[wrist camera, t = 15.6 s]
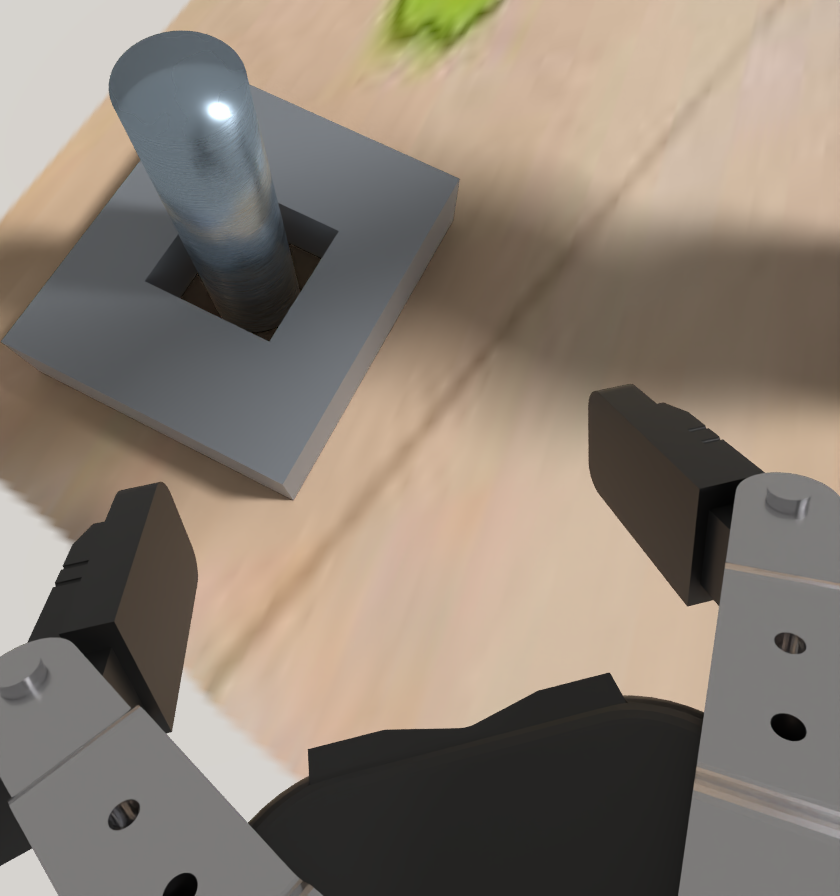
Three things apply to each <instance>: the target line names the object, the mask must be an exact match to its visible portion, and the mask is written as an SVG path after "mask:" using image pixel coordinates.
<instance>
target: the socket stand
mask: <svg viewBox="0 0 840 896" xmlns="http://www.w3.org/2000/svg"><path fill="white" fill-rule="evenodd" d="M249 86H250V90H251V94H252V98H253V102H254V106H255V110H256V114H257V118H258V122H259V127H260V131H261V135H262V139H263V143H264V147H265V151H266V155H267V159H268V163H269V167H270V171H271V175H272V179H273V184H274V188H275V192H276V196H277V200H278V204H279V208H280V212H281V216H282V220H283V224H284V228H285V232H286V236H287V241H288V243H290V244H292V245H294V246H297V247H299V248H301V249H303V250H305V251H307V252H309V253H311V254H314V255H316V256H318V257H320V258H322V259H321V260H320V262H319V264H318V265H317V267H316V268H315V270H314V271H313V273H312V275H311V276H310V278H309V279H308V281H307V283H306V284H305V286H304V287H303V289H302V291H301V292H300V294H299V295H298V297H297V298H296V300H295V302H294V303H293V305H292V306H291V308H290V310H289V311H288V313H287V314H286V316H285V318H284V319H283V321H282V322H281V324H280V325H279V327H278V329H277V330H276V332H275V333H274V335H273V337H272V338H271V340H270V341H267V340H265V339H263V338H261V337H259V336H257V335H254V334H252V333H250V332H248V331H246V330H244V329H242V328H240V327H238V326H236V325H234V324H232V323H230V322H228V321H226V320H224V319H222V318H219V317H217V316H215V315H213V314H211V313H209V312H207V311H205V310H203V309H201V308H199V307H197V306H195V305H193V304H191V303H189V302H187V301H185V300H182V299H180V297H181V296H182V294H183V293H184V291H185V290H186V289H187V287H188V286H189V284H190V283H191V281H192V280H193V278H194V277H195V276H196V274H197V273H198V272H197V270H196V268H195V266H194V264H193V262H192V260H191V258H190V256H189V254H188V252H187V250H186V248H185V246H184V244H183V242H182V240H181V238H180V236H179V234H178V232H177V231H176V229H175V227H174V225H173V223H172V221H171V219H170V217H169V215H168V213H167V211H166V209H165V207H164V205H163V203H162V201H161V199H160V197H159V195H158V193H157V191H156V189H155V187H154V185H153V183H152V181H151V179H150V178H149V176H148V174H147V172H146V170H145V168H144V166H143V164H142V162H141V160H140V162H139V163H138V164H137V165H136V167H135V168H134V169H133V171H132V172H131V173H130V175H129V176H128V177H127V178H126V180H125V181H124V182H123V184H122V185H121V186H120V188H119V189H118V190H117V191H116V193H115V194H114V195H113V197H112V198H111V199H110V201H109V202H108V203H107V204H106V206H105V207H104V208H103V210H102V211H101V212H100V214H99V215H98V216H97V217H96V219H95V220H94V221H93V223H92V224H91V225H90V227H89V228H88V229H87V230H86V232H85V233H84V234H83V236H82V237H81V238H80V240H79V241H78V242H77V243H76V245H75V246H74V247H73V249H72V250H71V251H70V252H69V254H68V255H67V256H66V258H65V259H64V260H63V262H62V263H61V264H60V265H59V267H58V268H57V269H56V271H55V272H54V273H53V275H52V276H51V277H50V278H49V280H48V281H47V282H46V284H45V285H44V286H43V288H42V289H41V290H40V291H39V293H38V294H37V295H36V297H35V298H34V299H33V301H32V302H31V303H30V304H29V306H28V307H27V308H26V310H25V311H24V312H23V314H22V315H21V316H20V317H19V319H18V320H17V321H16V323H15V324H14V325H13V327H12V328H11V329H10V330H9V332H8V333H7V334H6V336H5V337H4V338H3V339H2V341H1V342H2V343H3V344H4V345H6V346H7V347H8V348H10V349H11V350H12V351H14V352H15V353H16V354H18V355H19V356H20V357H21V358H23V359H24V360H25V361H27V362H28V363H29V364H31V365H32V366H33V367H35V368H36V369H37V370H39V371H40V372H42V373H44V374H46V375H48V376H50V377H52V378H54V379H56V380H58V381H60V382H62V383H64V384H66V385H68V386H70V387H72V388H74V389H76V390H78V391H79V392H81V393H83V394H85V395H87V396H89V397H91V398H93V399H95V400H97V401H99V402H101V403H103V404H105V405H107V406H109V407H111V408H113V409H115V410H117V411H119V412H121V413H123V414H125V415H127V416H129V417H131V418H133V419H135V420H137V421H138V422H140V423H142V424H144V425H146V426H148V427H150V428H152V429H154V430H156V431H158V432H160V433H162V434H164V435H166V436H168V437H170V438H172V439H174V440H176V441H178V442H180V443H182V444H184V445H186V446H188V447H190V448H192V449H194V450H196V451H197V452H199V453H201V454H203V455H205V456H207V457H209V458H211V459H213V460H215V461H217V462H219V463H221V464H223V465H225V466H227V467H229V468H231V469H233V470H235V471H237V472H239V473H241V474H243V475H245V476H247V477H249V478H251V479H253V480H255V481H256V482H258V483H260V484H262V485H264V486H266V487H268V488H270V489H272V490H274V491H276V492H278V493H280V494H282V495H284V496H286V497H288V498H290V499H292V500H294V499H295V497H296V495H297V494H298V492H299V490H300V488H301V486H302V485H303V483H304V481H305V479H306V478H307V476H308V474H309V472H310V471H311V469H312V467H313V465H314V464H315V462H316V460H317V458H318V457H319V455H320V453H321V451H322V450H323V448H324V446H325V444H326V443H327V441H328V439H329V437H330V436H331V434H332V432H333V430H334V429H335V427H336V425H337V423H338V422H339V420H340V418H341V416H342V415H343V413H344V411H345V409H346V407H347V406H348V404H349V402H350V400H351V399H352V397H353V395H354V393H355V392H356V390H357V388H358V386H359V385H360V383H361V381H362V379H363V378H364V376H365V374H366V372H367V371H368V369H369V367H370V365H371V364H372V362H373V360H374V358H375V357H376V355H377V353H378V351H379V350H380V348H381V346H382V344H383V343H384V341H385V339H386V337H387V335H388V334H389V332H390V330H391V328H392V327H393V325H394V323H395V321H396V320H397V318H398V316H399V314H400V313H401V311H402V309H403V307H404V306H405V304H406V302H407V300H408V299H409V297H410V295H411V293H412V292H413V290H414V288H415V286H416V285H417V283H418V281H419V279H420V278H421V276H422V274H423V272H424V271H425V269H426V267H427V265H428V263H429V262H430V260H431V258H432V256H433V255H434V253H435V251H436V249H437V248H438V246H439V244H440V242H441V241H442V239H443V237H444V235H445V234H446V232H447V230H448V228H449V227H450V225H451V223H452V221H453V219H454V212H455V206H456V200H457V193H458V187H459V180H460V179H459V178H457V177H454V176H452V175H450V174H448V173H445V172H443V171H441V170H439V169H437V168H434V167H432V166H430V165H428V164H425V163H423V162H421V161H419V160H417V159H414V158H412V157H410V156H408V155H405V154H403V153H401V152H399V151H396V150H394V149H392V148H390V147H388V146H385V145H383V144H381V143H379V142H376V141H374V140H372V139H370V138H367V137H365V136H363V135H361V134H359V133H356V132H354V131H352V130H350V129H347V128H345V127H343V126H341V125H339V124H336V123H334V122H332V121H330V120H327V119H325V118H323V117H321V116H318V115H316V114H314V113H312V112H310V111H307V110H305V109H303V108H301V107H298V106H296V105H294V104H292V103H289V102H287V101H285V100H283V99H281V98H278V97H276V96H274V95H272V94H269V93H267V92H265V91H263V90H261V89H258V88H256V87H254V86H252V85H249Z"/></svg>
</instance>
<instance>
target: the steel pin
mask: <svg viewBox="0 0 840 896" xmlns="http://www.w3.org/2000/svg"><path fill="white" fill-rule="evenodd" d="M109 95H110V99H111V102H112V105H113V107H114V109H115V111H116V113H117V115H118V117H119V119H120V121H121V123H122V125H123V126H124V128H125V130H126V132H127V134H128V136H129V138H130V140H131V142H132V144H133V146H134V148H135V150H136V152H137V154H138V156H139V158H140V160H141V162H142V164H143V166H144V168H145V170H146V172H147V174H148V176H149V178H150V179H151V181H152V183H153V185H154V187H155V189H156V191H157V193H158V195H159V197H160V199H161V201H162V203H163V205H164V207H165V209H166V211H167V213H168V215H169V217H170V219H171V221H172V223H173V225H174V227H175V229H176V231H177V232H178V234H179V236H180V238H181V240H182V242H183V244H184V246H185V248H186V250H187V252H188V254H189V256H190V258H191V260H192V262H193V264H194V266H195V268H196V270H197V272H198V274H199V276H200V278H201V280H202V282H203V284H204V285H205V287H206V289H207V291H208V293H209V295H210V297H211V299H212V301H213V303H214V305H215V307H216V309H217V311H218V313H219V314H220V316H221V317H222V318H223V319H224V320H226V321H228V322H230V323H232V324H234V325H236V326H238V327H240V328H242V329H244V330H246V331H249V332H261V331H266V330H270V329H273V328H275V327H277V326H279V325H280V324H281V322H282V321H283V319H284V318H285V316H286V314H287V313H288V311H289V310H290V308H291V306H292V305H293V303H294V302H295V300H296V298H297V297H298V295H299V285H298V281H297V277H296V273H295V269H294V265H293V261H292V257H291V253H290V249H289V245H288V241H287V236H286V232H285V228H284V224H283V220H282V216H281V212H280V208H279V204H278V200H277V196H276V192H275V188H274V184H273V179H272V175H271V171H270V167H269V163H268V159H267V155H266V151H265V147H264V143H263V139H262V135H261V131H260V127H259V122H258V118H257V114H256V110H255V106H254V102H253V98H252V94H251V90H250V86H249V82H248V78H247V74H246V70H245V67H244V64H243V62H242V60H241V59H240V57H239V56H238V55H237V53H236V52H235V51H234V50H233V49H232V48H231V47H230V46H228V45H227V44H226V43H224V42H223V41H221V40H219V39H217V38H215V37H212V36H210V35H207V34H203V33H199V32H193V31H170V32H164V33H160V34H156V35H153V36H150V37H148V38H145V39H143V40H141V41H140V42H138V43H136V44H135V45H133V46H132V47H131V48H129V49H128V50H127V51H126V52H125V53H124V54H123V55H122V56H121V57H120V58H119V60H118V61H117V63H116V64H115V66H114V68H113V70H112V73H111V75H110V80H109Z"/></svg>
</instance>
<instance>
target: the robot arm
mask: <svg viewBox="0 0 840 896" xmlns="http://www.w3.org/2000/svg"><path fill="white" fill-rule="evenodd" d="M588 430H589V469H590V474H591V478H592V481H593V484H594V486H595V488H596V490H597V492H598V493H599V495H600V496H601V497H602V498H603V500H604V501H605V502H606V504H607V505H608V506H609V507H610V509H611V510H612V511H613V512H614V514H615V515H616V516H617V518H618V519H619V520H620V521H621V523H622V524H623V525H624V526H625V528H626V529H627V530H628V532H629V533H630V534H631V535H632V537H633V538H634V539H635V540H636V542H637V543H638V544H639V546H640V547H641V548H642V549H643V551H644V552H645V553H646V554H647V556H648V557H649V558H650V560H651V561H652V562H653V563H654V565H655V566H656V567H657V568H658V570H659V571H660V572H661V574H662V575H663V576H664V577H665V579H666V580H667V581H668V582H669V584H670V585H671V586H672V588H673V589H674V590H675V591H676V593H677V594H678V595H679V596H680V598H681V599H682V600H683V601H684V603H685V604H686V605H687V606H691V605H695V604H699V603H703V602H707V601H711V600H714V601H715V602H716V603H717V604H718V606H719V612H718V619H717V626H716V633H715V640H714V647H713V654H712V661H711V669H710V676H709V683H708V690H707V697H706V704H705V711H704V712H702V711H699V710H697V709H694V708H692V707H689V706H686V705H682V704H679V703H675V702H672V701H668V700H663V699H657V698H652V697H643V696H623V695H622V693H621V692H620V690H619V688H618V686H617V685H616V683H615V681H614V679H613V677H612V676H611V674H610V673H606V674H602V675H598V676H594V677H590V678H586V679H582V680H578V681H574V682H571V683H567V684H563V685H559V686H555V687H551V688H547V689H543V690H539V691H537V692H535V693H533V694H531V695H529V696H527V697H525V698H523V699H522V700H520V701H518V702H516V703H514V704H512V705H510V706H508V707H507V708H505V709H503V710H501V711H499V712H497V713H495V714H493V715H491V716H490V717H488V718H486V719H484V720H482V721H480V722H478V723H476V724H474V725H472V726H469V727H466V728H451V729H401V730H382V731H378V732H374V733H370V734H366V735H362V736H358V737H355V738H351V739H347V740H343V741H339V742H335V743H331V744H327V745H323V746H319V747H315V748H311V749H308V761H309V776H308V777H306V778H304V779H302V780H301V781H299V782H297V783H295V784H294V785H292V786H291V787H289V788H288V789H287V790H285V791H283V792H282V793H280V794H279V795H278V796H277V797H275V798H274V799H273V800H272V801H271V802H270V803H268V804H267V805H266V806H265V807H264V808H262V809H261V810H260V811H259V813H257V815H255V817H253V818H252V819H251V820H250V821H249V822H248V823H247V822H246V820H245V819H244V818H243V817H242V816H241V815H240V814H239V813H238V812H237V811H236V810H235V808H234V807H233V806H232V805H231V804H230V803H229V802H228V801H227V800H226V799H225V798H224V796H222V794H221V793H220V792H219V791H218V790H217V789H216V788H215V787H214V786H213V785H212V783H211V782H210V781H209V780H208V779H207V778H206V777H205V776H204V775H203V774H202V773H201V772H200V770H199V769H198V768H197V767H196V766H195V765H194V764H193V763H192V762H191V761H190V759H189V758H188V757H187V756H186V755H185V754H184V753H183V752H182V751H181V749H180V748H179V747H178V746H177V745H176V744H175V743H174V742H173V741H172V740H171V739H170V737H169V736H168V735H167V734H166V733H169V732H172V728H173V722H174V717H175V711H176V705H177V699H178V693H179V688H180V682H181V676H182V670H183V664H184V658H185V653H186V647H187V641H188V635H189V629H190V624H191V618H192V612H193V606H194V600H195V594H196V589H197V582H198V570H197V563H196V558H195V554H194V551H193V548H192V545H191V543H190V540H189V538H188V535H187V533H186V530H185V528H184V525H183V523H182V520H181V518H180V516H179V513H178V511H177V508H176V506H175V503H174V501H173V498H172V496H171V493H170V491H169V489H168V487H167V486H166V485H165V484H164V483H163V482H158V483H153V484H149V485H144V486H139V487H134V488H130V489H125V490H120V491H118V492H117V494H116V496H115V498H114V501H113V503H112V505H111V508H110V510H109V513H108V515H107V518H106V520H105V522H101V523H96V524H93V525H92V526H91V527H90V528H89V529H88V530H87V531H86V532H85V533H84V534H83V535H82V536H81V537H80V538H79V539H78V540H77V541H76V542H75V543H74V544H73V545H72V547H71V549H70V551H69V554H68V556H67V558H66V560H65V562H64V565H63V567H64V569H63V570H61V571H60V573H59V575H58V577H57V580H56V582H55V585H56V587H53V588H52V591H51V593H50V595H49V597H48V599H47V601H46V604H45V606H44V608H43V610H42V612H41V614H40V617H39V619H38V621H37V623H36V625H35V627H34V630H33V632H32V634H31V636H30V638H29V641H28V643H26V644H23V645H21V646H19V647H17V648H14V649H13V650H11V651H9V652H7V653H6V654H4V655H2V656H1V657H0V866H1V865H3V864H4V863H6V862H8V861H10V860H12V859H14V858H15V857H17V856H19V855H21V854H23V853H25V852H26V851H28V850H30V849H32V848H33V850H34V852H35V854H36V856H37V857H38V859H39V861H40V863H41V865H42V866H43V868H44V870H45V872H46V874H47V875H48V877H49V879H50V881H51V883H52V884H53V886H54V888H55V890H56V892H57V894H58V895H59V896H840V496H839V495H838V494H837V493H836V492H835V491H834V490H832V489H831V488H830V487H828V486H826V485H825V484H823V483H821V482H819V481H817V480H814V479H811V478H808V477H805V476H801V475H797V474H791V473H780V472H771V473H765V472H763V471H762V470H761V469H760V468H758V467H757V466H756V465H754V464H753V463H752V462H751V461H749V460H748V459H747V458H746V457H744V456H743V455H742V454H741V453H739V452H738V451H737V450H736V449H734V448H733V447H732V446H730V445H729V444H728V443H727V442H725V441H724V440H720V438H719V436H718V435H717V434H715V433H714V432H713V431H712V430H710V429H709V428H708V429H706V427H705V425H704V424H703V423H701V422H700V421H699V420H698V419H696V418H695V417H694V416H693V415H691V414H690V413H689V412H687V411H684V410H681V409H679V408H676V407H674V406H671V405H668V404H666V403H659V404H656V403H655V402H654V401H653V400H652V399H650V398H649V397H648V396H647V395H646V394H644V393H643V392H642V391H641V390H640V389H638V388H637V387H636V386H635V385H633V384H627V385H622V386H617V387H613V388H608V389H603V390H598V391H594V392H592V393H591V395H590V398H589V405H588Z"/></svg>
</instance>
